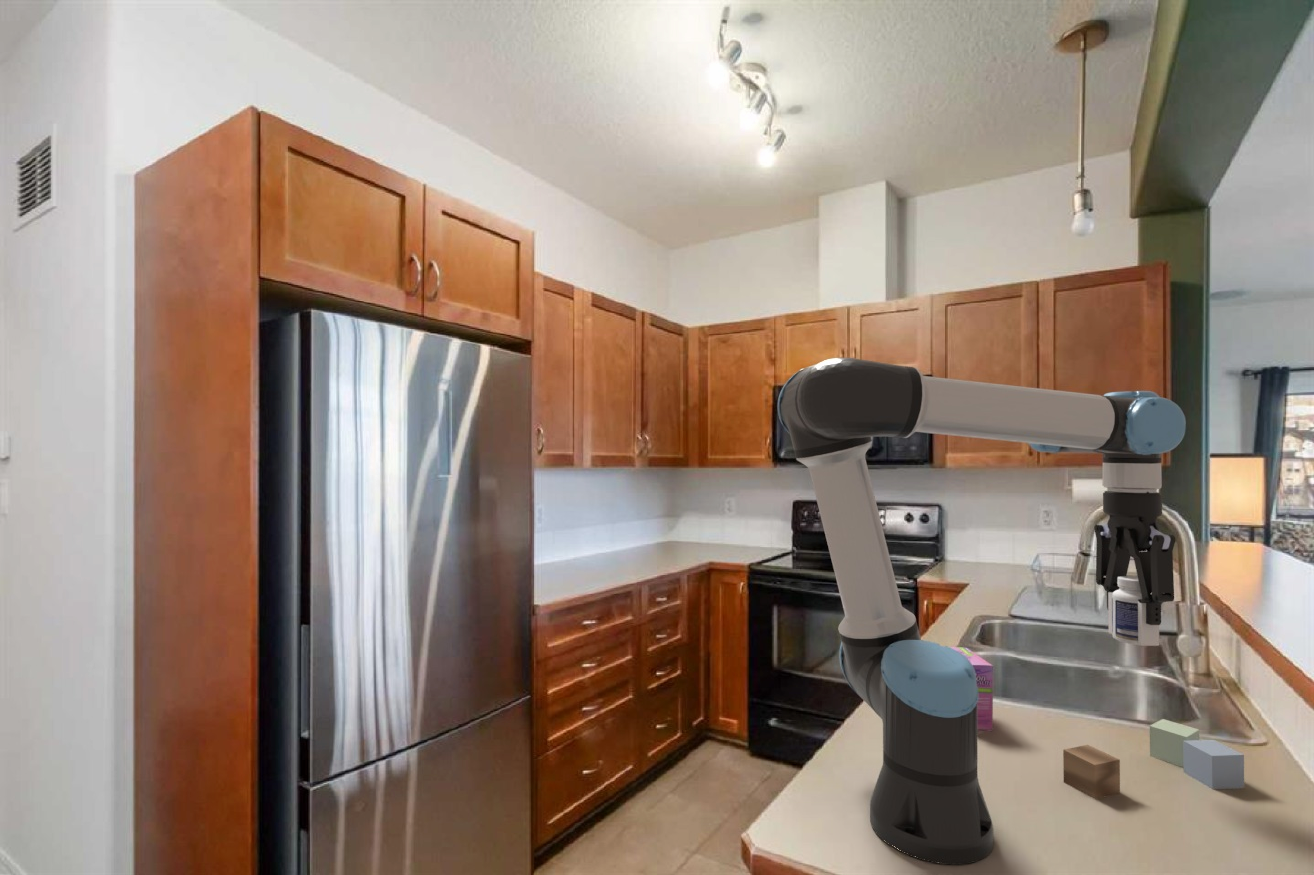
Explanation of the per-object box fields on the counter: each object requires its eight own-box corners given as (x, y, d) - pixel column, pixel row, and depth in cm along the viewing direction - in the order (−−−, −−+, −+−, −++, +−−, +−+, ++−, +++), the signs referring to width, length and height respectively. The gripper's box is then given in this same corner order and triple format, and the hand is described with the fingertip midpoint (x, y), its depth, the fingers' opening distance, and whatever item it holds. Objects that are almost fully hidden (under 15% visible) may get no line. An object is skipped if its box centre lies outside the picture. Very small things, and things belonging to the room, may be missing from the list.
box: (994, 731, 118) (993, 664, 118) (962, 730, 118) (961, 664, 118) (967, 707, 128) (967, 646, 128) (938, 707, 128) (937, 646, 128)
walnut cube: (1094, 799, 95) (1094, 764, 95) (1063, 782, 100) (1063, 749, 100) (1120, 793, 97) (1119, 759, 97) (1088, 777, 101) (1087, 744, 101)
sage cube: (1187, 768, 104) (1186, 737, 104) (1149, 756, 108) (1149, 725, 108) (1199, 760, 107) (1199, 729, 107) (1163, 748, 111) (1162, 718, 111)
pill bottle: (1162, 647, 100) (1161, 582, 100) (1122, 645, 101) (1122, 581, 101) (1143, 636, 105) (1143, 575, 105) (1106, 635, 106) (1105, 574, 106)
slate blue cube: (1212, 789, 98) (1211, 755, 98) (1183, 772, 103) (1183, 740, 103) (1244, 788, 98) (1243, 754, 98) (1213, 771, 103) (1213, 739, 103)
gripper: (1206, 494, 94) (1208, 657, 94) (1111, 486, 113) (1112, 622, 112) (1156, 495, 94) (1157, 658, 94) (1068, 486, 112) (1069, 623, 112)
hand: (1133, 638), depth 103 cm, fingers closed on pill bottle, 5 cm apart
